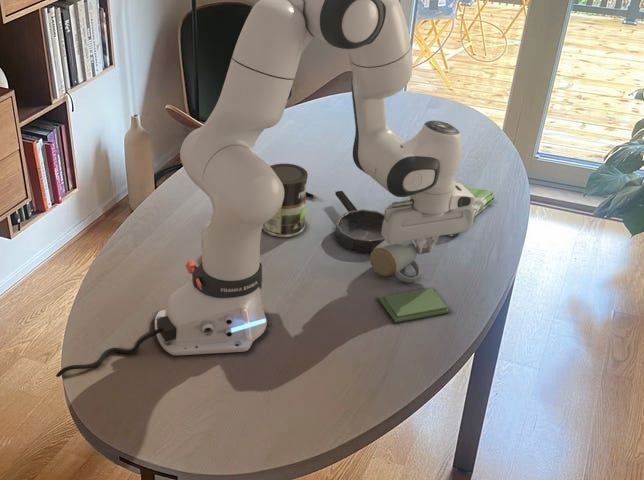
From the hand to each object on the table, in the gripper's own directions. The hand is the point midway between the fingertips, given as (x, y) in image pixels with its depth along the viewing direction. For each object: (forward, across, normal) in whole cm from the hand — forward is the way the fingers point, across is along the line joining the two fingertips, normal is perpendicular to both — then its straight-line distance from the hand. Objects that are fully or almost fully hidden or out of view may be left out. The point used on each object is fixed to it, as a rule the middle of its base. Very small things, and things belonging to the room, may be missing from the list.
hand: (423, 252), depth 180 cm
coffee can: (+4, -24, +26) cm, 35 cm away
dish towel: (+5, +17, +22) cm, 29 cm away
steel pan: (+4, -7, +21) cm, 22 cm away
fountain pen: (+4, -16, +41) cm, 44 cm away
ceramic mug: (+4, -6, 0) cm, 7 cm away
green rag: (+4, -8, -12) cm, 15 cm away
